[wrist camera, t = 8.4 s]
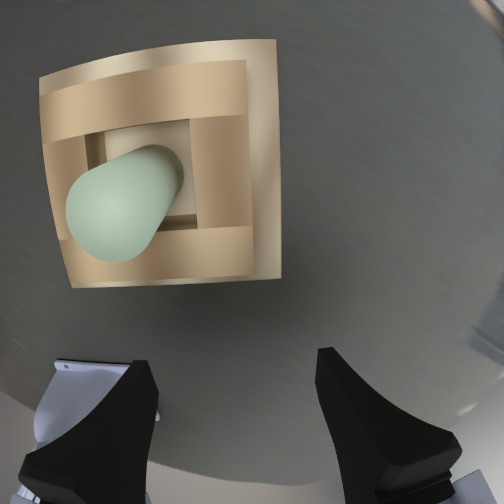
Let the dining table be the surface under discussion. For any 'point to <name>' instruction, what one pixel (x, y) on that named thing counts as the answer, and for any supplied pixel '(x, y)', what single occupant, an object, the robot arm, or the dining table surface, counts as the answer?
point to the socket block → (185, 147)
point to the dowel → (123, 202)
